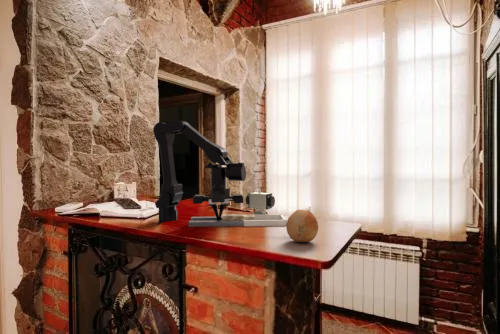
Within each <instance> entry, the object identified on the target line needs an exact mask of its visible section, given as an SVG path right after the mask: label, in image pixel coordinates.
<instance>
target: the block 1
mask: <svg viewBox="0 0 500 334" xmlns="http://www.w3.org/2000/svg"><path fill="white" fill-rule="evenodd" d="M222 216H223V220H233V213H229V214H228V213H227V214H225V213H222Z"/></svg>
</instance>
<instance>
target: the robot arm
mask: <svg viewBox="0 0 500 334" xmlns="http://www.w3.org/2000/svg"><path fill="white" fill-rule="evenodd" d="M152 131H153V136H154V139H155V140H156V142H157V145H159V151H160V153H159V154H160V161H161V170H162V179H163V183H162V186H161V189H160V197H159V198H158V199H157V200H156V201H155V208H156V209H158V221H157V224H162V223H163V222H172V221H177V220H178V209H177V206H178V205H179V203H180V201H181V200H182V198H183V194H184V191H183V184H182V183H179V182H178V180H177V177H176V175H177V174H176V168H175V160H174V159H175V157H174V149H173V144H174V141H175V135H177V134H183V135H184V136H185V137H187V138H188V139H189V140H190V141H191V142H193V143H194V144H195V145H196V146H197V147H199V148H200V149H201V150H202V152H203V153H204V156H206V158H208V160H209V162H208V164H207V165H206V166H205V167H204V168H205V169H210V196H206V195H205V194H195V195H194V196H192V204H194V205H197V204H198V205H202V204H203V202H208V206H209V207H211V208H212V211H213V212H214V214H215V215H214V216H215V217H216V218H217V220H220V219H221V216H223V212H224V210H225V207H227V206H229V202H233V203H234V204H244V195H243V194H242V193H235V194H234V193H232V195H231V189H230V188H227V179H228V181H229V182H245V180H246V178H247V169H246V166H245V162H233V161H232V159H231V158H230V157H229V155H228V153H229V152H228V150H227V149H226V148H224V147H223V146H220V145H219V144H216V143H214V142H213V141H211V140H209V139H208V138H206V137H205V136H204V135H203V134H202V133H200V132H199V131H198V130H197V129H196V128H194V126H192V125H190V123H188V122H187V121H185V120H184V121H183V120H178V121H174V122H157V123H155V125H154V126H153V128H152ZM218 203H220V204H219V208H218Z"/></svg>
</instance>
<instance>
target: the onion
mask: <svg viewBox="0 0 500 334" xmlns="http://www.w3.org/2000/svg"><path fill="white" fill-rule="evenodd" d="M286 220H287V224H286V226H285V227H286V232H287V235H288V236H289V238H290V239H291V240H293V241H294V242H295V243H310V242H312V241H313V240H315V238H316V237H317V236H318V235H317V234H318V232H319V223H318V222H319V221H318V219H317V218H316V216H315V214H314V213H312V212H311V211H310V210H307V209H297V210H295V211H294V212H292V213H291V214H290V215H289V216H288V218H287V219H286Z"/></svg>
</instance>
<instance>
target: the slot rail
mask: <svg viewBox="0 0 500 334" xmlns="http://www.w3.org/2000/svg"><path fill="white" fill-rule="evenodd" d="M243 226H244V220H223V215H221V219H220V220H217V218H216V216H191V218H190V220H189V221H188V227H190V228H192V227H199V228H200V227H243ZM244 227H245V226H244Z"/></svg>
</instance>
